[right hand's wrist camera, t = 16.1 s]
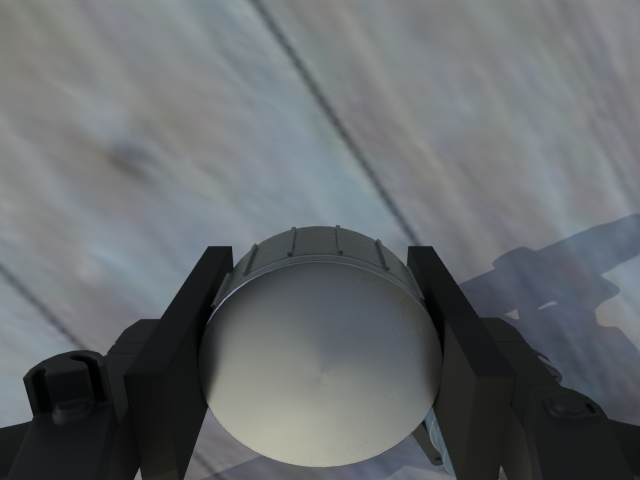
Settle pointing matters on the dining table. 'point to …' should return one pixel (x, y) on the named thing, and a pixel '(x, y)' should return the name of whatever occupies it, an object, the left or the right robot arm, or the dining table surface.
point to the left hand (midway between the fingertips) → (417, 344)
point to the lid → (320, 349)
